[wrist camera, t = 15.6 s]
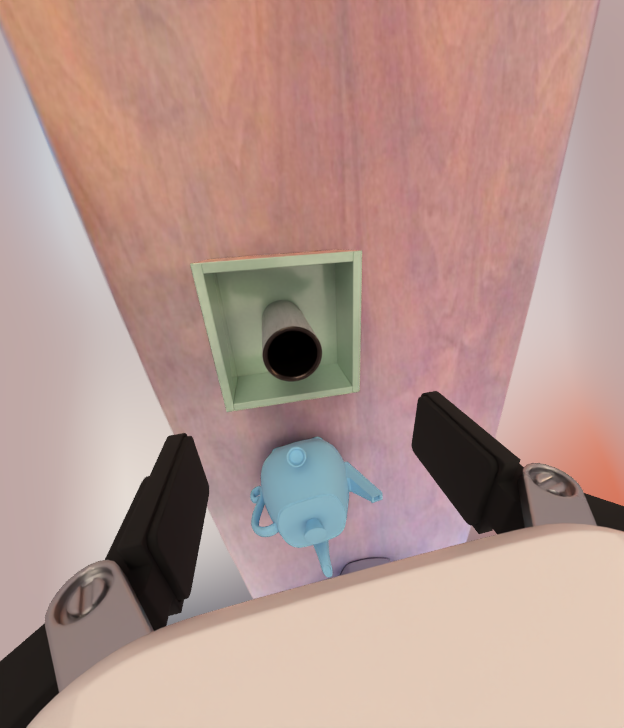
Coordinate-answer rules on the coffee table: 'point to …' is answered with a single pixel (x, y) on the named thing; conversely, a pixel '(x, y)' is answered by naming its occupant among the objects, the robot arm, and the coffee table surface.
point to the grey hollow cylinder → (289, 342)
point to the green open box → (245, 310)
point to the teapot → (308, 495)
